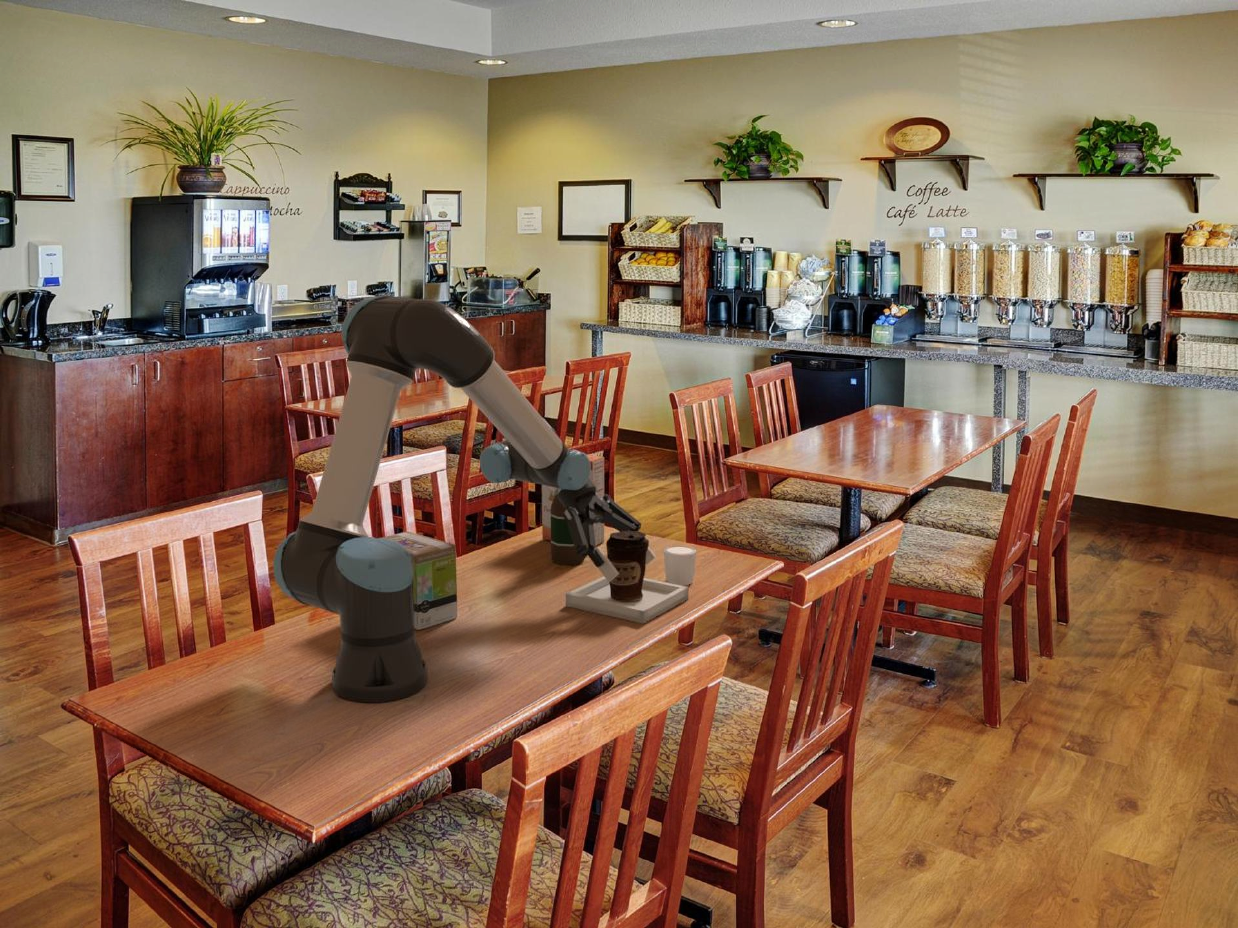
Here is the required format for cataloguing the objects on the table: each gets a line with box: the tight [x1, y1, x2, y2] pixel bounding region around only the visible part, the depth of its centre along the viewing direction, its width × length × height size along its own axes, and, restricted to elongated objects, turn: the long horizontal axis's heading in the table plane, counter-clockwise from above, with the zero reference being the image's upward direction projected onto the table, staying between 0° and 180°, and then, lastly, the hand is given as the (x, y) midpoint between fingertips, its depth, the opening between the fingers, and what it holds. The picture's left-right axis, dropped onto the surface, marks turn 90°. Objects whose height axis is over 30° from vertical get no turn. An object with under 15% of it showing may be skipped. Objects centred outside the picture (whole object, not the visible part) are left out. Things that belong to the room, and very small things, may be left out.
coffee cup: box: [605, 531, 650, 601], centre depth 220 cm, size 9×8×13 cm
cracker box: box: [541, 454, 605, 547], centre depth 262 cm, size 14×6×21 cm, turn 61°
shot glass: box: [663, 545, 697, 586], centre depth 234 cm, size 7×7×7 cm
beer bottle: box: [550, 494, 586, 567], centre depth 246 cm, size 8×8×24 cm
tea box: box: [377, 531, 458, 631], centre depth 213 cm, size 15×10×15 cm, turn 48°
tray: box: [565, 575, 690, 625], centre depth 222 cm, size 17×18×2 cm
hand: (633, 569), depth 220 cm, fingers open, 13 cm apart
